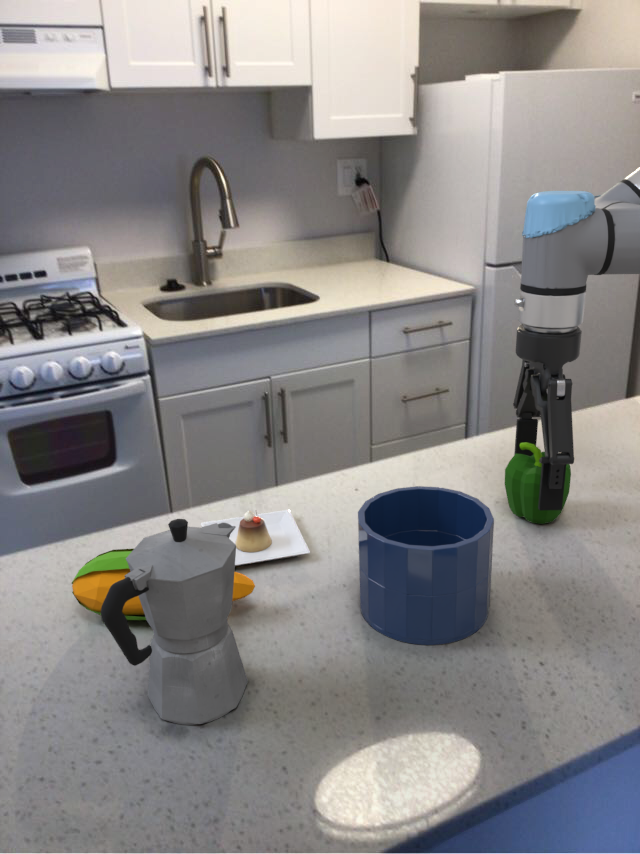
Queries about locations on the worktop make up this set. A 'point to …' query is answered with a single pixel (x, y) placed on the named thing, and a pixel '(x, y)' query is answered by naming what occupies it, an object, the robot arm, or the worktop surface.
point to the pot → (425, 564)
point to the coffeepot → (183, 621)
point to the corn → (113, 568)
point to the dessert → (264, 537)
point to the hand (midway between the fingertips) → (536, 485)
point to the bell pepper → (530, 486)
